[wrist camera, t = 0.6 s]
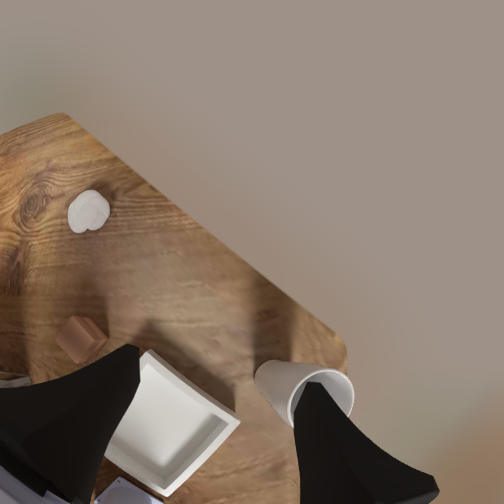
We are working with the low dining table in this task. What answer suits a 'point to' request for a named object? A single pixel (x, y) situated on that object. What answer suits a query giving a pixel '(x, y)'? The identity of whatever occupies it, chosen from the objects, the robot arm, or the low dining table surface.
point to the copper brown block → (81, 339)
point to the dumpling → (88, 211)
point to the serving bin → (168, 427)
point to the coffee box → (13, 380)
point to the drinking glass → (300, 385)
